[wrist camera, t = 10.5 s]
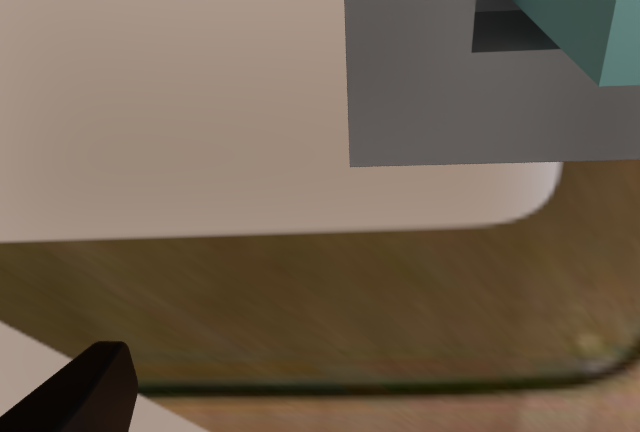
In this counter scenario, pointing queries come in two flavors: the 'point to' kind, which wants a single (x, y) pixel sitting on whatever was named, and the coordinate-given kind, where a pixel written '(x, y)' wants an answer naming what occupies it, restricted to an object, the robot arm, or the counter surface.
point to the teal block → (593, 35)
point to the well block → (474, 89)
